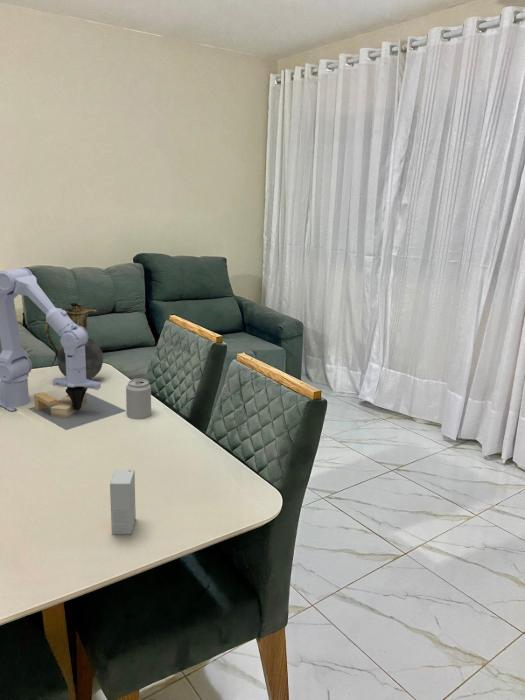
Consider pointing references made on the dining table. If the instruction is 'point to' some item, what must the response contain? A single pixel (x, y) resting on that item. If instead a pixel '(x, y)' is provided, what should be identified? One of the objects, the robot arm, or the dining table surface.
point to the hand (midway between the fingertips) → (77, 408)
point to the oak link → (64, 408)
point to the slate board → (87, 413)
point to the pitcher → (91, 347)
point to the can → (138, 399)
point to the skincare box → (122, 501)
